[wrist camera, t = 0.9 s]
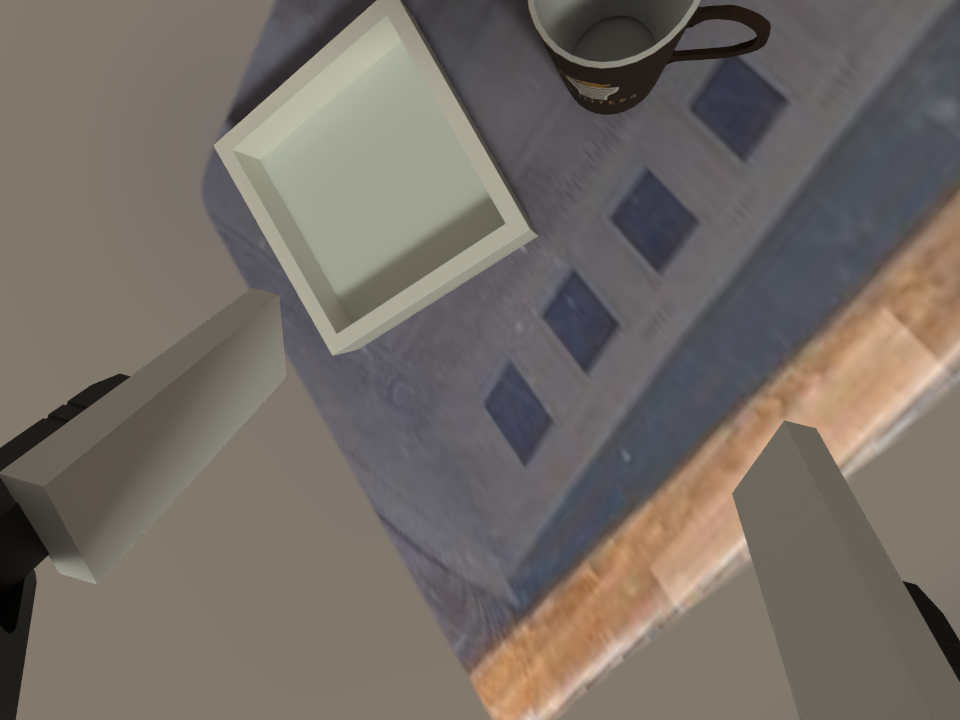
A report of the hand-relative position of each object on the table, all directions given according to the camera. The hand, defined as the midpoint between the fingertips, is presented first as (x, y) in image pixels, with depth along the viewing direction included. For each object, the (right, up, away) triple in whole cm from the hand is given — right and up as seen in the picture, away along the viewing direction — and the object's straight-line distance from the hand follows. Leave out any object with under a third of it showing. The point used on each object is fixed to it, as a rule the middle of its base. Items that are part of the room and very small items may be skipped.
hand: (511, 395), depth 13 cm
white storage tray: (-8, +14, +25) cm, 30 cm away
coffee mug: (+9, +20, +20) cm, 30 cm away
